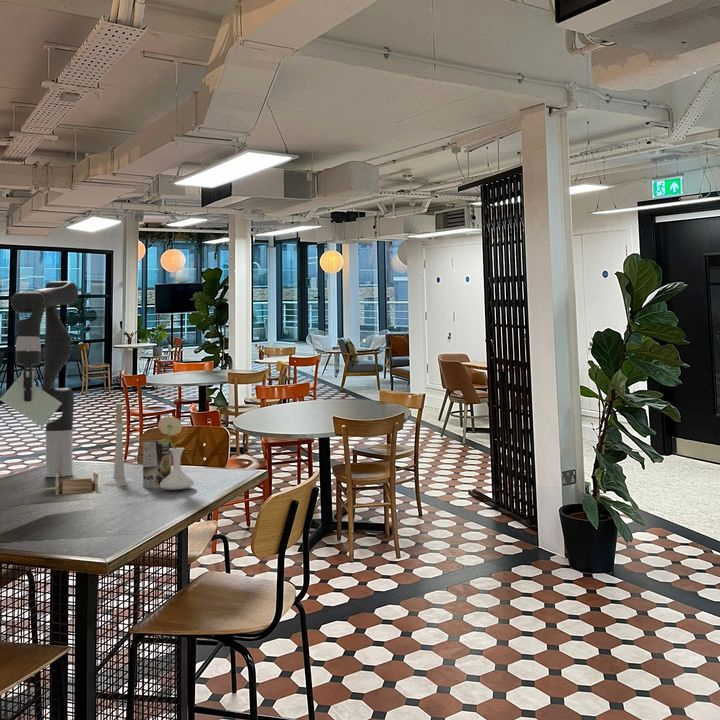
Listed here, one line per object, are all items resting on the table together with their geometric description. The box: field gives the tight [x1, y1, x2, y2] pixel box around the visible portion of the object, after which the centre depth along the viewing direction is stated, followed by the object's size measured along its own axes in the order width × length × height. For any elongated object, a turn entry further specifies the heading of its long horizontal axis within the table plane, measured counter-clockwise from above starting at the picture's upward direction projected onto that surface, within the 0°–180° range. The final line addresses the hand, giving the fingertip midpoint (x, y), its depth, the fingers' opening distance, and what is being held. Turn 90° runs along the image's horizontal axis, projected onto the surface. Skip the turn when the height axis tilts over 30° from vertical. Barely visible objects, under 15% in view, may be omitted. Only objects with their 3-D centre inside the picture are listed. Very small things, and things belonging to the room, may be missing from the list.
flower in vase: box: [157, 415, 195, 491], centre depth 213 cm, size 13×11×25 cm
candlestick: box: [101, 403, 136, 487], centre depth 227 cm, size 13×13×30 cm
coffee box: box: [142, 439, 172, 489], centre depth 222 cm, size 9×6×16 cm
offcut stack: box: [61, 477, 93, 495], centre depth 212 cm, size 4×9×4 cm, turn 117°
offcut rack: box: [55, 470, 99, 496], centre depth 213 cm, size 10×13×6 cm
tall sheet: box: [0, 375, 62, 428], centre depth 212 cm, size 3×10×16 cm
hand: (27, 401), depth 212 cm, fingers closed on tall sheet, 3 cm apart
